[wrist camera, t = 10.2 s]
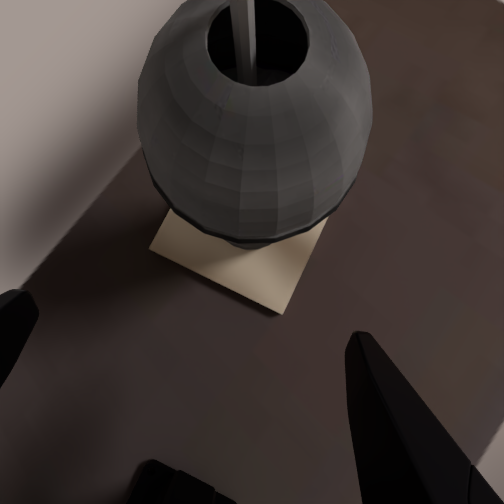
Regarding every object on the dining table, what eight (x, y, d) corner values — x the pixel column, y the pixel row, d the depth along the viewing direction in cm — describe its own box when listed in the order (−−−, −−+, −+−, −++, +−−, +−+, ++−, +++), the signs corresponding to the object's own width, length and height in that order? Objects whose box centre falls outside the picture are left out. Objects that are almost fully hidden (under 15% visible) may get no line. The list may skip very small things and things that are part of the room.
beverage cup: (228, 290, 21) (-68, 234, 1) (178, 196, 22) (-479, -736, 2) (322, 239, 22) (1140, -353, 2) (270, 149, 22) (452, -945, 3)
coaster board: (281, 314, 22) (282, 314, 21) (152, 250, 22) (148, 248, 21) (340, 188, 23) (343, 184, 22) (216, 130, 23) (215, 124, 23)
